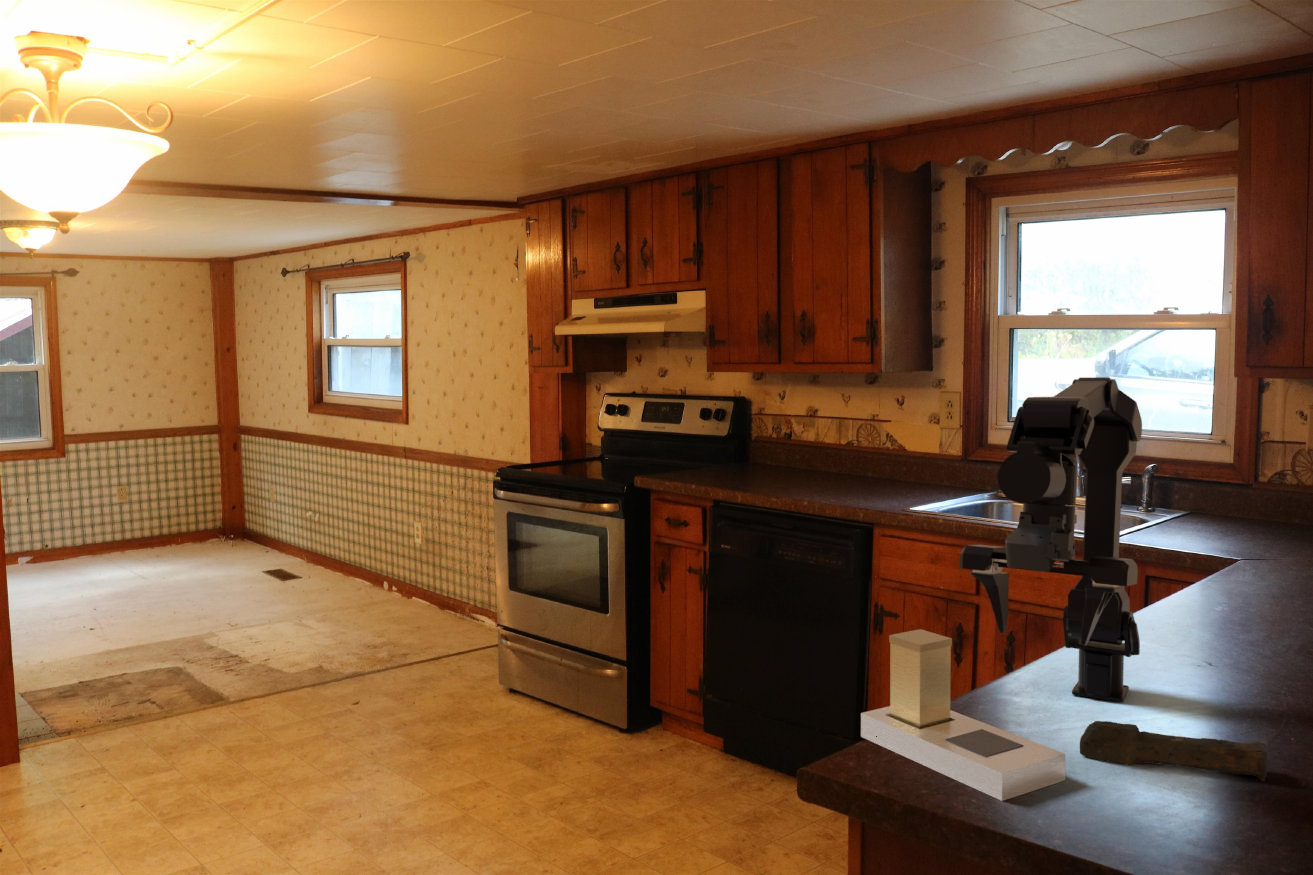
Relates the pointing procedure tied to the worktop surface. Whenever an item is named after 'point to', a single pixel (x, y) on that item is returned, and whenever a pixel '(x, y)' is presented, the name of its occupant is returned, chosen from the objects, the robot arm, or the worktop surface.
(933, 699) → the beige tall square block
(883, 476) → the worktop surface
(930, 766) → the white base plate
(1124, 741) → the hand tool
